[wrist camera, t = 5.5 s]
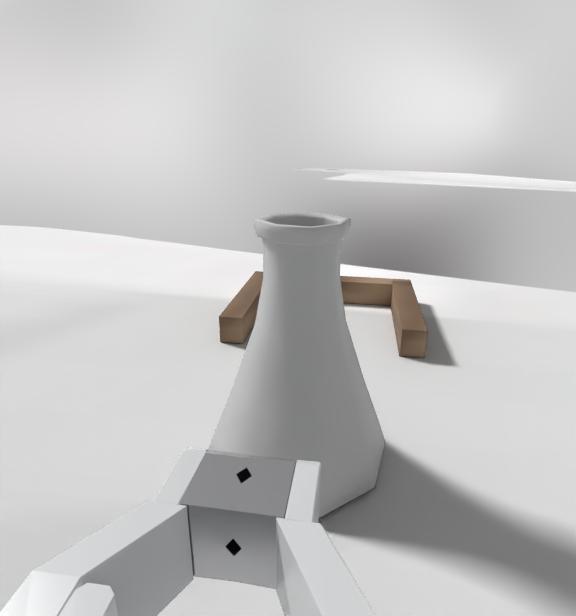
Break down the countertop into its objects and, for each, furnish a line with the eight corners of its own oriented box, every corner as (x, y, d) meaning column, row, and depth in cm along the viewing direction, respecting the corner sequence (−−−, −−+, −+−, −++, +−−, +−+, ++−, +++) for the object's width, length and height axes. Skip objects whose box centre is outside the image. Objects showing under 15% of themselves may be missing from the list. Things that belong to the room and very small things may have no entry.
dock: (220, 341, 29) (219, 316, 28) (255, 291, 39) (255, 271, 38) (424, 357, 27) (427, 331, 26) (407, 300, 37) (410, 279, 36)
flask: (412, 445, 19) (443, 216, 16) (320, 559, 14) (335, 254, 11) (284, 390, 24) (286, 199, 20) (175, 462, 18) (151, 220, 15)
